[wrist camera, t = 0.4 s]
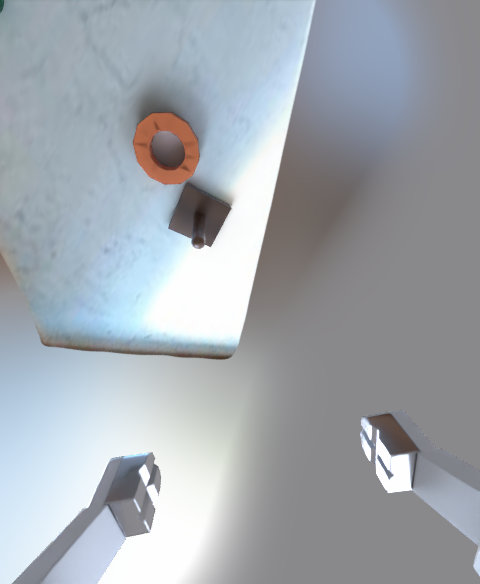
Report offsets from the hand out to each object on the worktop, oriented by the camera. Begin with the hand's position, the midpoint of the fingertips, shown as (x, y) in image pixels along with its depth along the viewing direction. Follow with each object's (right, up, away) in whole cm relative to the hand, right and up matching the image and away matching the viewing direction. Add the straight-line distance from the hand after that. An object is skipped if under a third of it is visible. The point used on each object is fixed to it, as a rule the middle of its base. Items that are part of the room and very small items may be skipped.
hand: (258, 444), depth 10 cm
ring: (-14, +32, +36) cm, 50 cm away
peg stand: (-9, +22, +44) cm, 50 cm away
